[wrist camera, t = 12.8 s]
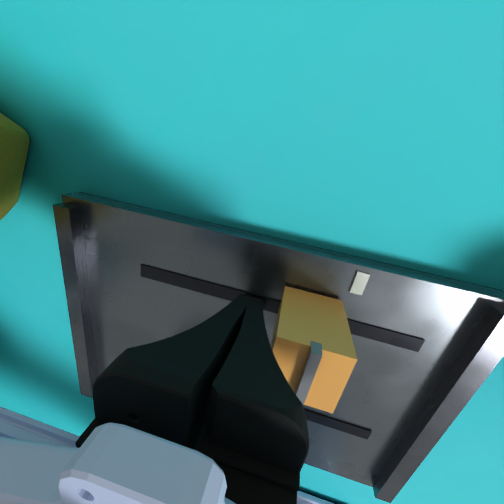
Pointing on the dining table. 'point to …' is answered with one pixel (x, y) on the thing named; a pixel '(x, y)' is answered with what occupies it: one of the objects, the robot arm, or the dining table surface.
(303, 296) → the fader
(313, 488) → the dining table surface
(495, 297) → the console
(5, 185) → the flower pot
